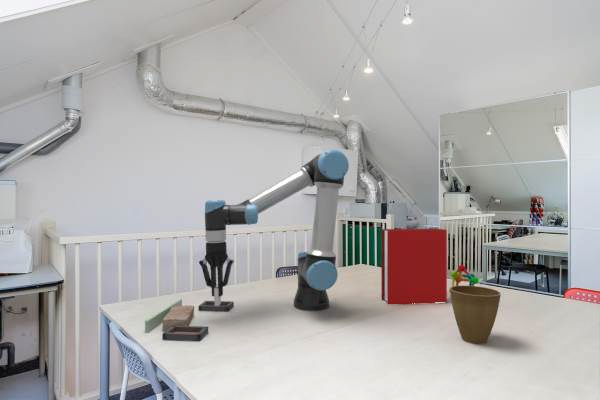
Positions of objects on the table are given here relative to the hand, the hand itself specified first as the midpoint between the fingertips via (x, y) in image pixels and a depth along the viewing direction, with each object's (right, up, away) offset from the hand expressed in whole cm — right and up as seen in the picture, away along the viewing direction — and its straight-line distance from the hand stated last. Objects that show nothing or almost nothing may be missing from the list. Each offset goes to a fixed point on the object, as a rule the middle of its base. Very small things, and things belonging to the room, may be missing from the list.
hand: (217, 304), depth 141 cm
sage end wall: (-20, -6, +2) cm, 21 cm away
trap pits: (-6, -6, 0) cm, 8 cm away
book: (+81, -6, +27) cm, 86 cm away
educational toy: (+107, -6, +38) cm, 114 cm away
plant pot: (+87, -6, -19) cm, 89 cm away
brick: (-13, -7, -3) cm, 15 cm away
